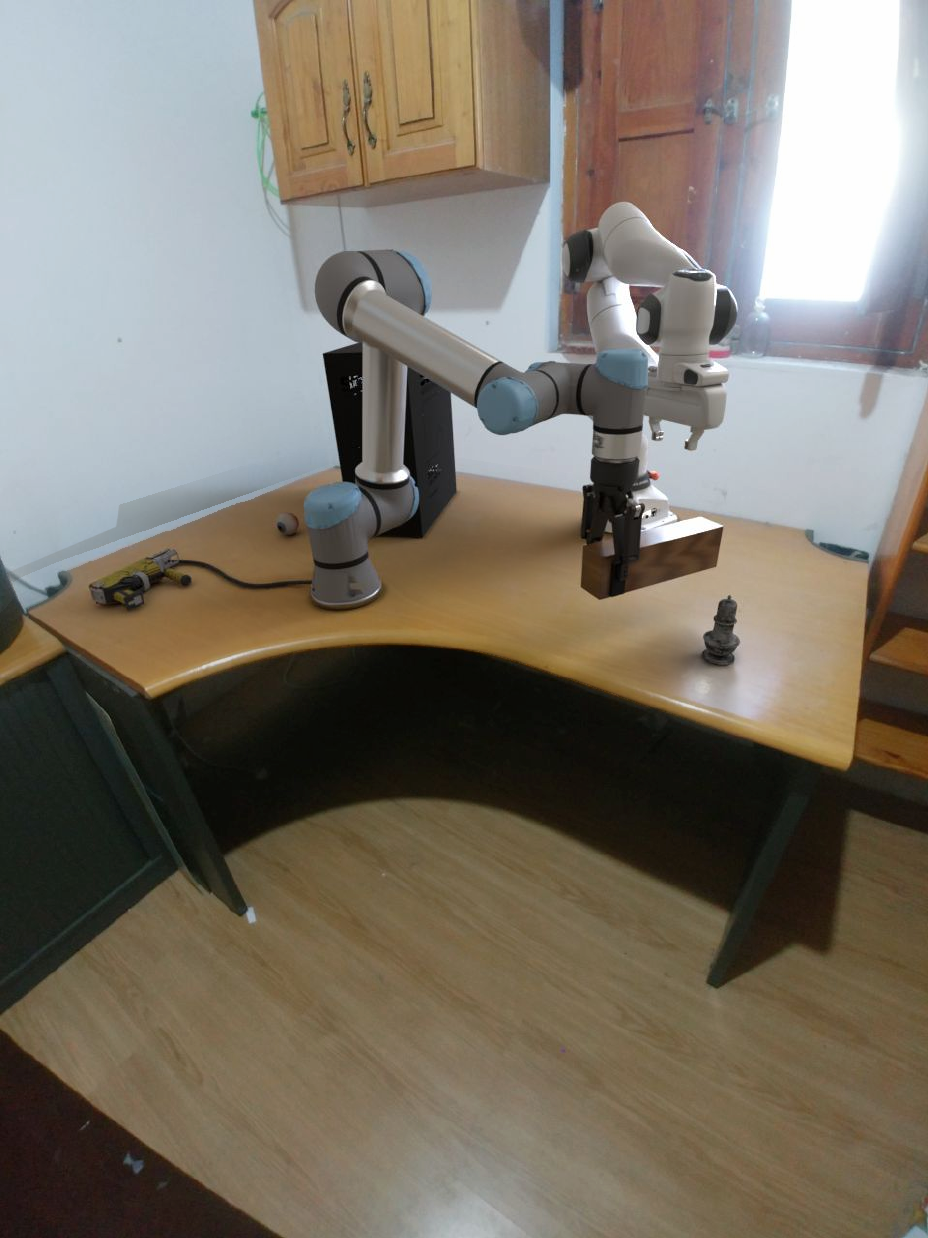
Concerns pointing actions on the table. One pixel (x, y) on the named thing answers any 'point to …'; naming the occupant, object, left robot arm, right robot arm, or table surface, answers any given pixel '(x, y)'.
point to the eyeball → (287, 523)
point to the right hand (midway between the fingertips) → (673, 444)
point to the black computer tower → (422, 437)
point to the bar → (655, 556)
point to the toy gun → (136, 580)
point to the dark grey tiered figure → (722, 635)
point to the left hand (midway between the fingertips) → (605, 586)
